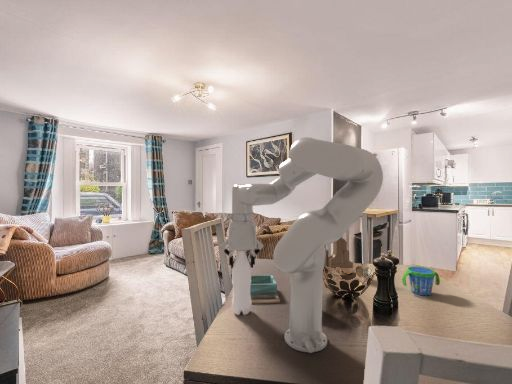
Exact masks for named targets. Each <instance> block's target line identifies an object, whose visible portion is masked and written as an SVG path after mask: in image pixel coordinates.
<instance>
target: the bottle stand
mask: <svg viewBox="0 0 512 384" xmlns="http://www.w3.org/2000/svg"><path fill="white" fill-rule="evenodd" d="M250 295H251V300H252V304H255V305H256V304H273V303H275V304H276V303H280V302H281V300H280V297H279V296H278V283H277V282H276V279H275V278H274V276H273V274H251V286H250Z"/></svg>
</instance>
